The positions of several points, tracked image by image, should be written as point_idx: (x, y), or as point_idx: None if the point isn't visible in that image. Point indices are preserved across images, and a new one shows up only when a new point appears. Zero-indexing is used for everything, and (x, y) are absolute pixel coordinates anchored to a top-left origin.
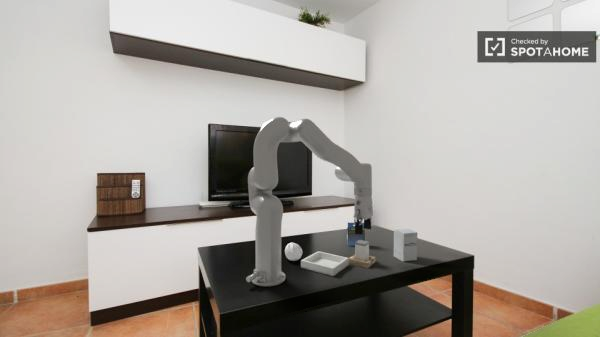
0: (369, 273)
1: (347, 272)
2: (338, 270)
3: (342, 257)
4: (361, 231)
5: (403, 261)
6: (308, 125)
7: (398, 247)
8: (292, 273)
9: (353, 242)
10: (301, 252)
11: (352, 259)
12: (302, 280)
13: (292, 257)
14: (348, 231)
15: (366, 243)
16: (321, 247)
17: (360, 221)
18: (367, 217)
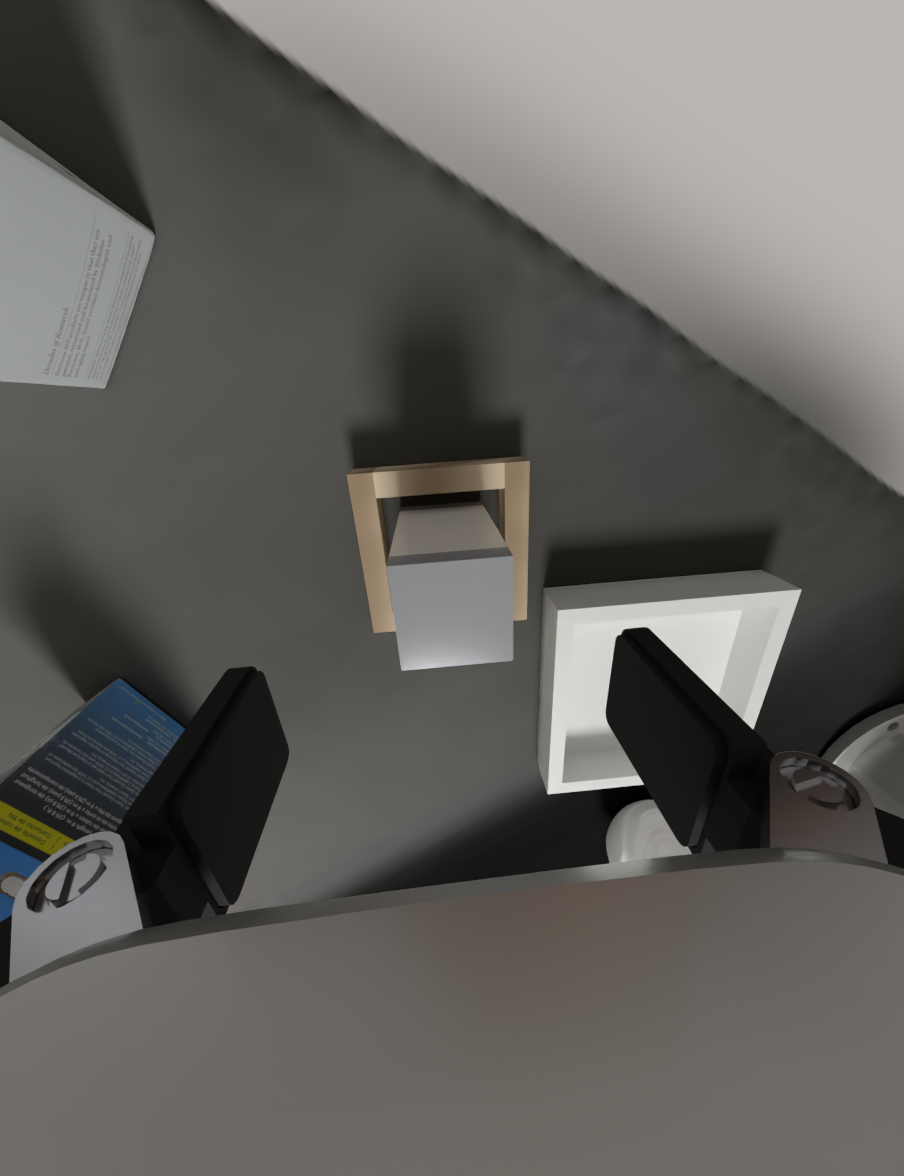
0: (611, 402)
1: (665, 534)
2: (699, 580)
3: (572, 645)
4: (668, 662)
5: (152, 232)
6: None
7: (24, 279)
8: (793, 728)
9: None
10: (647, 829)
11: (522, 590)
12: (859, 655)
13: None
14: None
15: (473, 558)
16: (376, 828)
17: (878, 859)
18: (740, 936)
